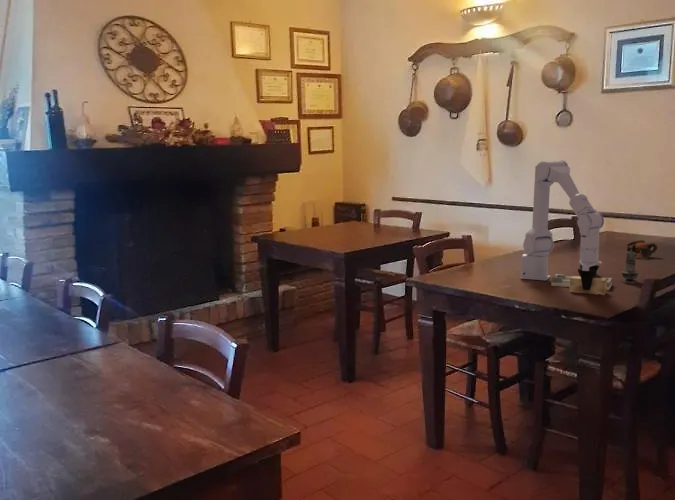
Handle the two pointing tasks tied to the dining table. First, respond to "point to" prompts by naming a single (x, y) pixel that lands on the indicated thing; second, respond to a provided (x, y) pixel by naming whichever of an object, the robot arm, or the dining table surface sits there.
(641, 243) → the pottery mug
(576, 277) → the tan wooden block
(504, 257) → the dining table surface
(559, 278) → the cream rectangular tray
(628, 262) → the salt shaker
